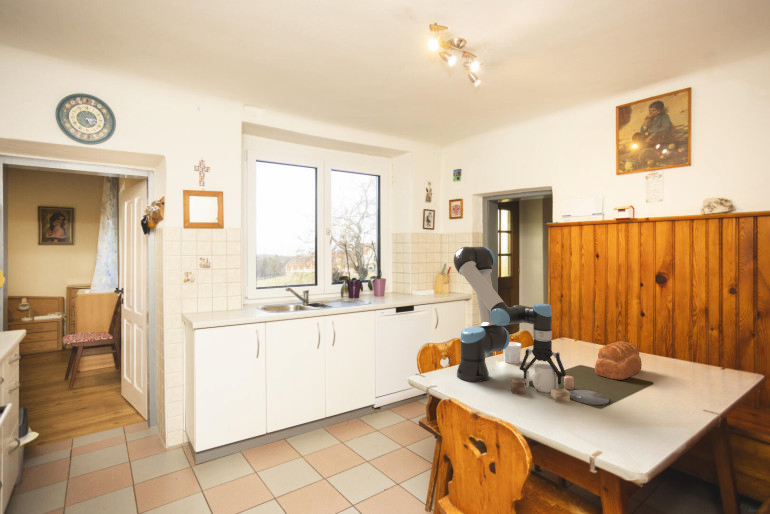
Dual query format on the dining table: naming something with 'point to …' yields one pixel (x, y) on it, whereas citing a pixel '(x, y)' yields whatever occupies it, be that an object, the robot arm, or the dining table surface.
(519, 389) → the walnut block
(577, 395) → the gray plate
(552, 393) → the beech block
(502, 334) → the robot arm
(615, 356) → the bread
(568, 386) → the peach egg shape
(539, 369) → the mug
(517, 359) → the cup
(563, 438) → the dining table surface
